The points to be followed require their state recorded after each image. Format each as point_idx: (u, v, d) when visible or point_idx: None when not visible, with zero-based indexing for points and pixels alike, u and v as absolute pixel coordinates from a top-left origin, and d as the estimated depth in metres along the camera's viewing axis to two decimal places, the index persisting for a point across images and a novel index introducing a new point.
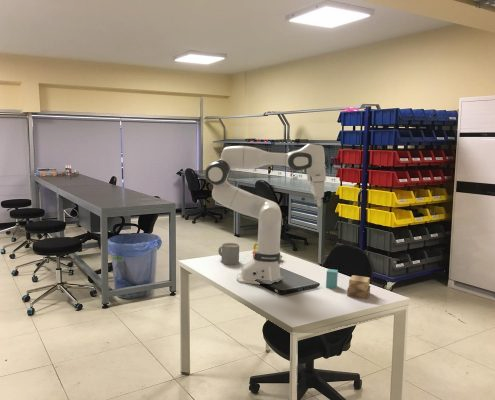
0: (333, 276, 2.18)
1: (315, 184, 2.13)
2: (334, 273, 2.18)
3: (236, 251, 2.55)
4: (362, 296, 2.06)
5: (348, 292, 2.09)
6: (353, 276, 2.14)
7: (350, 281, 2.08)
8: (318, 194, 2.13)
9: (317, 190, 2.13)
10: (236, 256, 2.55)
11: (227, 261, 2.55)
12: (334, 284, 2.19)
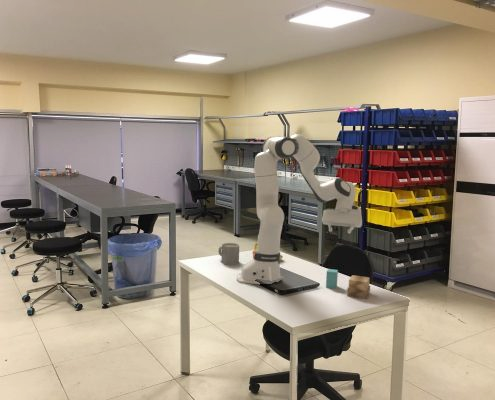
0: (333, 276, 2.18)
1: (360, 213, 2.31)
2: (334, 273, 2.18)
3: (236, 251, 2.55)
4: (362, 296, 2.07)
5: (348, 292, 2.09)
6: (353, 276, 2.14)
7: (350, 281, 2.08)
8: (361, 222, 2.29)
9: (361, 219, 2.30)
10: (236, 256, 2.55)
11: (227, 261, 2.55)
12: (334, 284, 2.19)
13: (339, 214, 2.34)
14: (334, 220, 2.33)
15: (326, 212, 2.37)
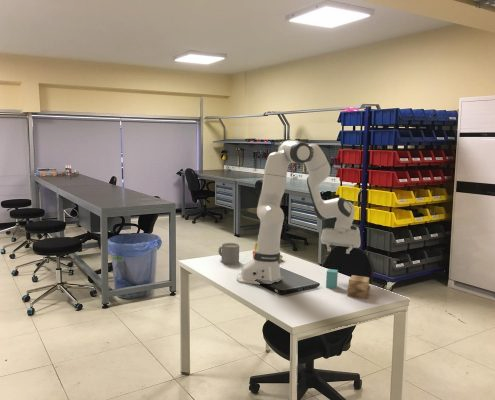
0: (333, 276, 2.18)
1: (359, 234, 2.32)
2: (334, 273, 2.18)
3: (236, 251, 2.55)
4: (362, 296, 2.07)
5: (348, 292, 2.09)
6: (353, 276, 2.14)
7: (350, 281, 2.08)
8: None
9: None
10: (236, 256, 2.55)
11: (227, 261, 2.55)
12: (334, 284, 2.19)
13: (338, 234, 2.36)
14: (333, 240, 2.34)
15: (325, 231, 2.38)
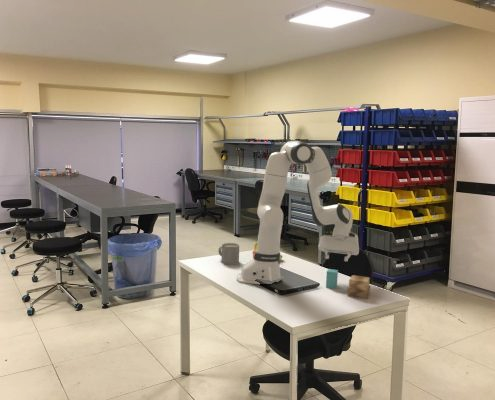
0: (333, 276, 2.18)
1: (357, 241, 2.29)
2: (334, 273, 2.18)
3: (236, 251, 2.55)
4: (362, 296, 2.07)
5: (348, 292, 2.09)
6: (353, 276, 2.14)
7: (350, 281, 2.08)
8: (358, 250, 2.27)
9: (358, 246, 2.28)
10: (236, 256, 2.55)
11: (227, 261, 2.55)
12: (334, 284, 2.19)
13: (336, 241, 2.33)
14: (331, 247, 2.31)
15: (323, 238, 2.35)
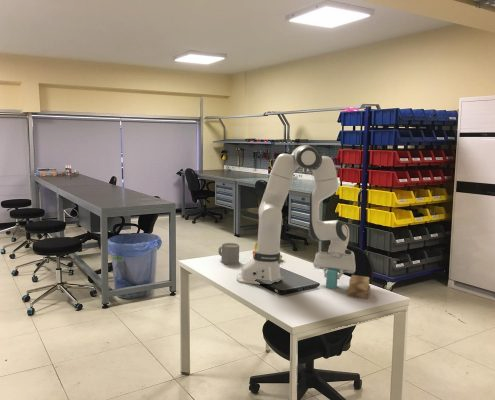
0: (333, 276, 2.18)
1: (354, 258, 2.22)
2: (334, 273, 2.18)
3: (236, 251, 2.55)
4: (362, 296, 2.06)
5: (348, 292, 2.09)
6: (353, 276, 2.14)
7: (350, 281, 2.08)
8: (354, 268, 2.20)
9: (354, 264, 2.21)
10: (236, 256, 2.55)
11: (227, 261, 2.55)
12: (334, 284, 2.19)
13: (332, 258, 2.25)
14: (326, 265, 2.23)
15: (318, 256, 2.28)
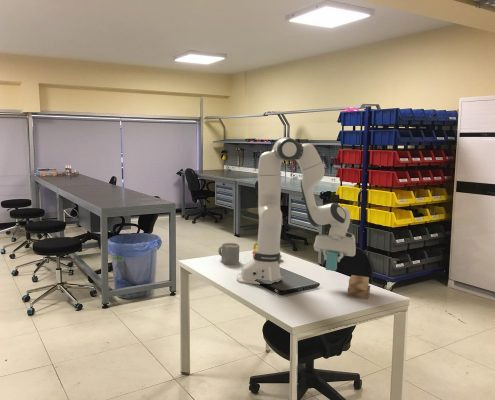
0: (333, 258, 2.17)
1: (354, 242, 2.21)
2: (334, 255, 2.17)
3: (236, 251, 2.55)
4: (362, 296, 2.06)
5: (348, 292, 2.08)
6: (352, 276, 2.14)
7: (350, 281, 2.08)
8: (355, 251, 2.19)
9: (355, 247, 2.19)
10: (236, 256, 2.55)
11: (227, 261, 2.55)
12: (334, 266, 2.17)
13: (332, 241, 2.24)
14: (326, 247, 2.22)
15: (318, 238, 2.26)
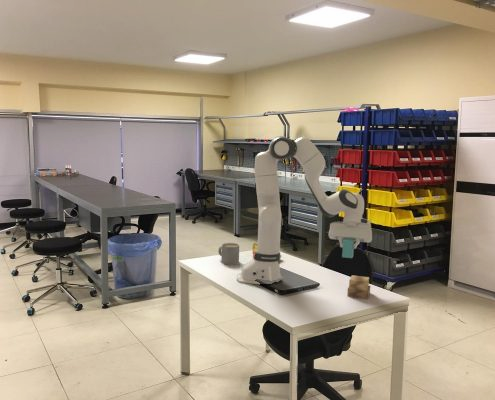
0: (349, 245, 2.12)
1: (370, 227, 2.15)
2: (350, 242, 2.11)
3: (236, 251, 2.55)
4: (362, 296, 2.06)
5: (348, 292, 2.08)
6: (353, 276, 2.13)
7: (350, 281, 2.08)
8: (371, 237, 2.13)
9: (371, 233, 2.14)
10: (236, 256, 2.55)
11: (227, 261, 2.55)
12: (351, 253, 2.12)
13: (347, 228, 2.18)
14: (342, 234, 2.16)
15: (333, 226, 2.21)
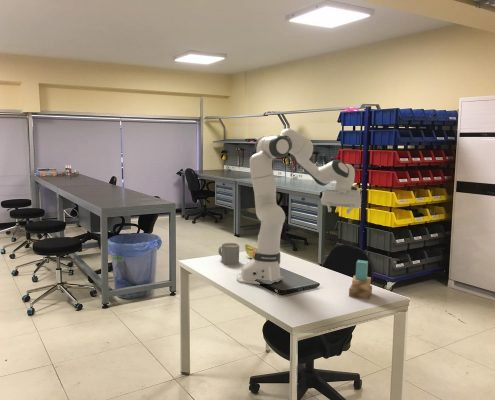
0: (363, 267, 2.07)
1: None
2: (364, 264, 2.07)
3: (236, 251, 2.55)
4: (364, 296, 2.06)
5: (350, 292, 2.08)
6: None
7: (353, 282, 2.08)
8: (360, 203, 2.31)
9: (360, 199, 2.31)
10: (236, 256, 2.55)
11: (227, 261, 2.55)
12: (364, 276, 2.07)
13: (338, 195, 2.36)
14: (333, 201, 2.34)
15: (325, 193, 2.38)
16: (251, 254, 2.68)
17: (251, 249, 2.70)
